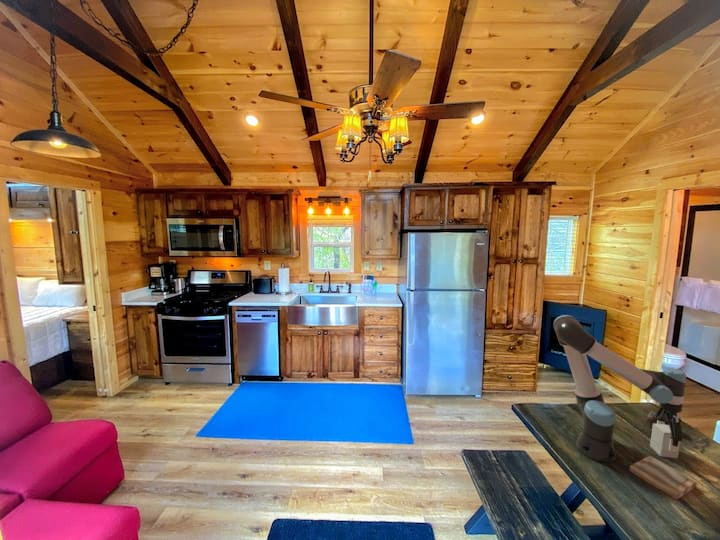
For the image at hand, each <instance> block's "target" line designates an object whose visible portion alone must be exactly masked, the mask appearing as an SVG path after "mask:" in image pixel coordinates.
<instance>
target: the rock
mask: <svg viewBox="0 0 720 540" xmlns="http://www.w3.org/2000/svg"><path fill="white" fill-rule="evenodd" d="M657 410H658V409H655V408H654V409H652V410H650V412H649V413H648V415H647V417H646V419H645V420H644V422H645V423H646V424H648V426H650V428H652V427H653V423H654V424H657V417H656V416H655V414H656V412H657ZM663 422H665V425H669V423H668V422H667V419H666V421H663Z"/></svg>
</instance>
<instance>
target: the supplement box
mask: <svg viewBox="0 0 720 540" xmlns="http://www.w3.org/2000/svg"><path fill="white" fill-rule="evenodd" d="M650 436H651V437H650V443H649V447H650V448H651V449H652V450H653V451H654V452H655V453H656V454H657V455H659V457H664V458H669V459H670V458H672V459H678V458H679V451H680V446H681V441H679V444H678V451H677V452H673V451H669V444H670V437H672V436H671V431H670V426H669V425H665V424H654V423H653V427H651V435H650Z"/></svg>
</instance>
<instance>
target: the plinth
mask: <svg viewBox="0 0 720 540" xmlns="http://www.w3.org/2000/svg"><path fill="white" fill-rule="evenodd" d="M630 471H631V473H633V474H634V475H635V476H637V477H639V478H640V479H642V480H644V481H645V482H647V483H648V484H650V485H652V486H654V487H655V488H657V489H658V490H660V491H662V493H663V492H664V493H665V494H667V495H669V497H671V498H673V499H675V500H678V499H680V498H682V497H683V496H684V495H686V494H687V493H689V492H690V491H692V490H693V489H694V488H696V487H697V485H698V480H696V479H694V478H692V477H690V476H689V475H686V474H685V473H683V472H681V471H679V470H677V469H676V468H674V467H671V466H670V465H668V464H666V463H664V462H663V461H661V460H658V458H655V457H653V456H652V455H648V456H646V457H644V458H642V459H640V460H639V461H636V462H635V463H633V464H631V465H630V466H629V472H630Z"/></svg>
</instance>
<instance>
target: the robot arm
mask: <svg viewBox="0 0 720 540" xmlns="http://www.w3.org/2000/svg"><path fill="white" fill-rule="evenodd" d="M552 325H553V330H554V331H555V334H556V337H557V341H558V343H559V345H560V346H562V347H563V350H564V352H565V355H566V358H567V362H568V364H569V368H570V371H571V375H572V377H573V382H574V384H575V389H574V395H575V398H576V399H575V400H576V404H577V407H578V408H579V410H580V413H581V415H582V418H583V419H582V420H583V421H582V430H581V433H580V434H579V435H578V437H577V438H576V443H575V444H576V448H577V450H579V451H580V452H581V453H582V454H583V455H585V456H586V457H588V458H590V459H592V460H594V461H598V462H601V463H612V462H614V461H615V460H616V449H615V447H614V443H613V441H614V440H613V438H614V433H615V432H614V430H615V423H616V421H617V420H616V418H617V417H616V412H615V410H614V408H612V407H611V406H610V405H608V403H606V402H605V399H604V396H603V393H602V391H601V389H600V388H599V387H597V385H596V383H595V379H594V376H593V373H592V370H591V366H590V363H589V359H588V357H590V358H591V359H593V360H594V361H596V362H598V363H599V364H601V365H602V366H603V367H606V368H607V369H609V370H610V371H612V372H613V373H614V374H616V375H618V376H619V377H621V378H622V379H624V380H626V381H627V382H629V383H630V384H632V385H633V386H635V387H637V388H638V389H639V390H641V391H643V392H644V393H645V394H647V395H648V396H649V397H650V398H651V399H652V400H653V401H655V402H657V403H659V407H658V409H656V410H657V412H656V414H655V416H656V417H657V424H665V422H663V421H666V419H667V422H668V423H669V426H670V431H671V436H672V437H670V444H669V451H673V452H677V451H678V444H679V441H680V443H681V442H683V435H682V425H681V421H682V419H681V418H680V417H678V413H679V414H680V413H682V411H683V402H684V399H685V396H684V395H685V390H686V384H687V374H686V373H685V372H684V370H680V369H679V368H678V369H677V368H674V367H665V368H664V369H663V371H655V370H649V369H642V368H639V367H638V366H636V365H634V364H632V363H631V362H630V361H628V360H626V359H624V358H623V357H621V356H620V355H618V354H617V353H615V352H614V351H612V350H610V349H609V348H607V347H605V346H604V345H602V344H601V343H599V342H597V339H596V337H593V336H592V335H591V334H590V333H588V332H587V331H586V330H585V329H584V328H583V326H582V324H581V323H580V321H579V320H578V319H577V318H576V317H574V316H572V315H568V314H562V315H560V316H557V317H556V318H555V319H554V320H553V324H552Z"/></svg>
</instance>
